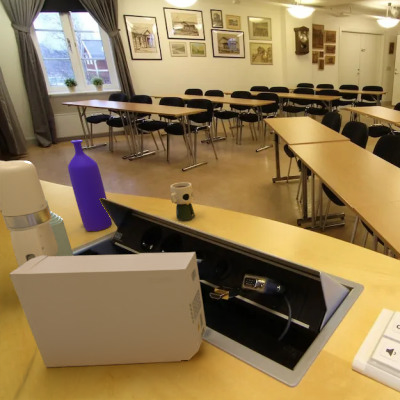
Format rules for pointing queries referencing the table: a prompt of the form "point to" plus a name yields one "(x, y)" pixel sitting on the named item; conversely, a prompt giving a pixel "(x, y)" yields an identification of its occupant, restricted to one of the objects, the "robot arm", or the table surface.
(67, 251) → the water bottle
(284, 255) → the table surface
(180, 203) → the character mug
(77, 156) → the bottle
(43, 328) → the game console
